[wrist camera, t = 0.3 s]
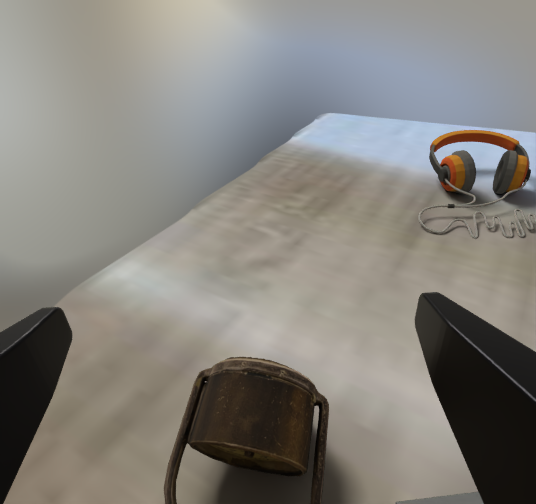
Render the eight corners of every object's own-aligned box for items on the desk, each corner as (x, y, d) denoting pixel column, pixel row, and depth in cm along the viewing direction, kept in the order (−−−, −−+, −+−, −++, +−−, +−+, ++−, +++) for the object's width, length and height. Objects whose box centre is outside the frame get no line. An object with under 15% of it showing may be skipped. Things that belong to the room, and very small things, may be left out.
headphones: (426, 219, 38) (408, 117, 51) (416, 252, 42) (402, 150, 54) (609, 224, 35) (543, 115, 48) (580, 258, 39) (526, 149, 52)
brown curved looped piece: (394, 390, 20) (243, 300, 23) (266, 707, 11) (48, 483, 14) (354, 451, 24) (231, 367, 28) (239, 713, 15) (77, 541, 19)
